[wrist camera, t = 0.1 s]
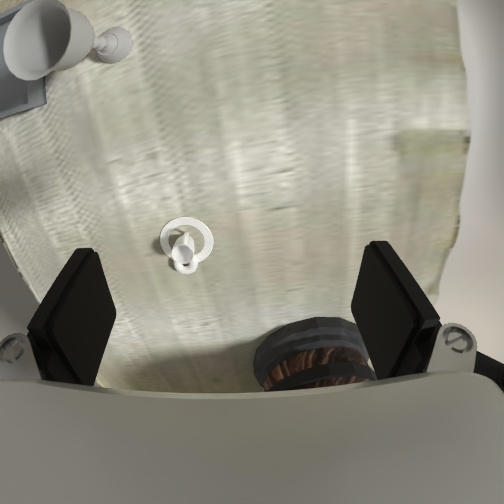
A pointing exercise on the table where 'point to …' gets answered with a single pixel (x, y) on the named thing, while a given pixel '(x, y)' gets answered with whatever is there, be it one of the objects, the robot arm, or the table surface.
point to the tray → (8, 85)
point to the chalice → (57, 40)
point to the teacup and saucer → (185, 245)
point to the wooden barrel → (313, 356)
